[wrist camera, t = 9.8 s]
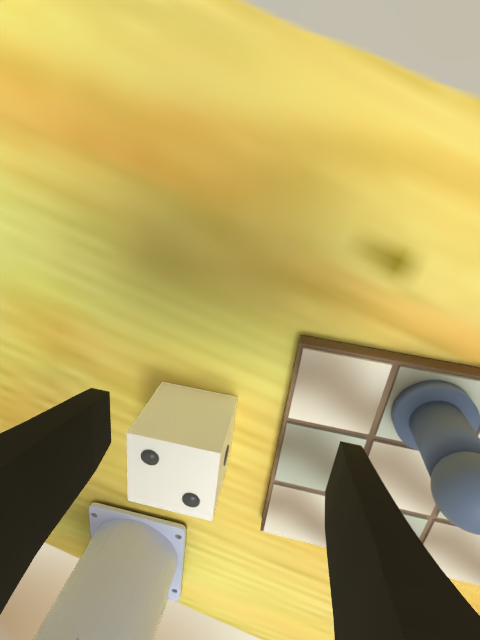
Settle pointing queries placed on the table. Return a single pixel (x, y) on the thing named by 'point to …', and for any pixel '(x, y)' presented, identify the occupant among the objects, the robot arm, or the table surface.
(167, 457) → the die
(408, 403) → the pawn
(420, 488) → the board
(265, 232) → the table surface
